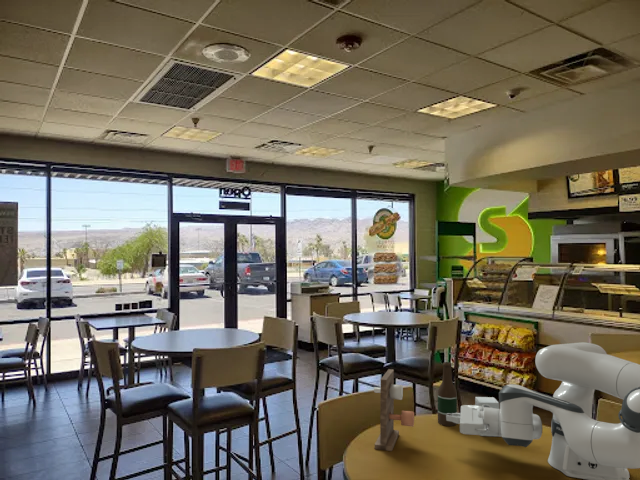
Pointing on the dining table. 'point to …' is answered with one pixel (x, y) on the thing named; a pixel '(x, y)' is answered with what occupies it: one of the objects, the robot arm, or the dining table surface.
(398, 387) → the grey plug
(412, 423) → the terracotta plug
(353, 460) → the dining table surface
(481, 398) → the supplement box
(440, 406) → the beer bottle
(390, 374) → the plug panel
